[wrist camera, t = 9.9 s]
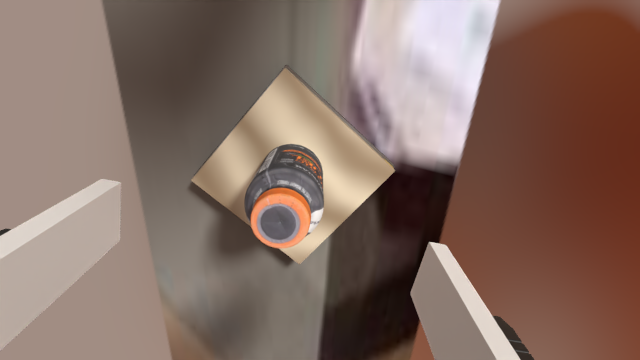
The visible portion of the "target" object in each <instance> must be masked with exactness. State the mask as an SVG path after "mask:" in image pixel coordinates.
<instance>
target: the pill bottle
mask: <svg viewBox="0 0 640 360" xmlns="http://www.w3.org/2000/svg"><path fill="white" fill-rule="evenodd" d="M244 208H245V213H246V216H247V218H248V221H249V222H250V224H251V227H252V230H253V232H254V234H255V236H256V237H257V238H258V239H259V240H260V241H261V242H263V243H264V244H266V245H268V246H270V247H273V248H289V247H292V246H294V245H296V244H298V243H299V242H300V241H302V240H303V239H304V237H305V236H307V235H309V234H310V233H311V232H312V231H313V230H314V229H315V228H316V227H317V225H318V224H319V222H320V220H321V217H322V214H323V209H324V194H323V169H322V165H321V162H320V160H319V159H318V157H317V156H316V155H315V154H314V152H312V151H311V150H310V149H308V148H306V147H304V146H302V145H297V144H285V145H281V146H279V147H276V148H275V149H273V150H272V151H271V152H270V153H268V155H267V156H266V157H265V159H264V161H263V163H262V164H261V166H260V168H259V169H258V171H257V173H256V174H255V176H254V178H253V180H252V181H251V183H250V185H249V187H248V189H247V191H246V194H245V200H244Z"/></svg>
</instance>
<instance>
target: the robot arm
mask: <svg viewBox="0 0 640 360" xmlns="http://www.w3.org/2000/svg"><path fill="white" fill-rule="evenodd" d="M120 216H121V182H117V181H111V180H106V179H100V180H99V181H97V182H95V183H93V184H92V185H90V186H88V187H87V188H85V189H83V190H81V191H79V192H78V193H76V194H74V195H72V196H70V197H69V198H67V199H65V200H63V201H62V202H60V203H58V204H56V205H55V206H53V207H51V208H49V209H47V210H46V211H44V212H42V213H40V214H38V215H37V216H35V217H33V218H32V219H30V220H28V221H26V222H25V223H23V224H21V225H19V226H17V227H15V228H14V229H12V230H11V229H4V230H1V231H0V351H1V350H2V349H3V348H4V347H5V346H6V345H7V344H8V343H9V342H10V341H12V340H13V339H14V338H15V337H16V336H17V335H18V334H19V333H20V332H21V331H22V330H24V329H25V328H26V327H27V326H28V325H29V324H30V323H31V322H32V321H33V320H34V319H35V318H37V317H38V316H39V315H40V314H41V313H42V312H43V311H44V310H45V309H46V308H47V307H49V306H50V305H51V304H52V303H53V302H54V301H55V300H56V299H57V298H58V297H59V296H60V295H62V294H63V293H64V292H65V291H66V290H67V289H68V288H69V287H70V286H71V285H72V284H73V283H75V282H76V280H78V279H79V278H80V277H81V276H82V275H83V274H84V273H85V272H86V271H87V270H89V269H90V268H91V267H92V266H93V265H94V264H95V263H96V262H97V261H98V260H100V258H102V257H103V256H104V255H105V254H106V253H107V252H108V251H109V250H110V249H111V248H112V247H114V246H115V245H116V244H117V243H118V242H119V241H120V218H121V217H120ZM410 294H411V297H412V299H413V302H414V305H415V307H416V310H417V313H418V315H419V318H420V321H421V324H422V326H423V329H424V332H425V334H426V337H427V340H428V342H429V345H430V348H431V350H432V353H433V356H434V359H435V360H534V358H533V357H532V356H531V354H529V351H528V350H527V348H526V347H525V345H524V344H522V343H521V340H520V338H519V337H518V335H517V334H516V333H515V331H514V330H513V328H511V327H510V326H509V325H508V324H507V323H506V322H505V321H504V320H503V319H502V318H500V317H498V316H492V315H491V314H490V312H489V310H488V309H487V307H486V306H485V304H484V303H483V301H482V300H481V298H480V297H479V295H478V293H477V292H476V290H475V289H474V287H473V286H472V284H471V283H470V281H469V280H468V278H467V277H466V275H465V274H464V272H463V270H462V269H461V268H460V266H459V264H458V263H457V261H456V260H455V258H454V257H453V255H452V254H451V252H450V251H449V249H448V248H447V246H446V245H443V244H438V243H432V242H429V243H428V246H427V249H426V252H425V255H424V257H423V260H422V263H421V266H420V268H419V271H418V274H417V277H416V279H415V282H414V285H413V288H412V290H411V293H410Z"/></svg>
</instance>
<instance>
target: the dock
mask: <svg viewBox="0 0 640 360" xmlns="http://www.w3.org/2000/svg"><path fill="white" fill-rule="evenodd" d="M285 144H297V145H302V146H304V147H306V148H308V149H310V150H311V151H312V152H314V154H315V155H316V156H317V157H318V159H319V160H320V162H321V165H322V169H323V194H324V209H323V214H322V217H321V220H320V222H319V224H318V225H317V227H316V228H315V229H314V230H313V231H312V232H311V233H310V234H309V235H307V236H305V237H304V239H303V240H302V241H300V242H299V243H298V244H296V245H294V246H292V247H289V248H279V249H280V250H281V251H283V252H284V253H285V254H287V255H288V256H289V257H290V258H292V259H293V260H294V261H296V262H297V263H298V264H300V263H301V262H303V261H304V260H305V259H306V258H307V257H308V256H309V255H310V254H311V253H312V252H313V251H314V250H315V249H316V248H317V247H318V246H319V245H320V244H321V243H322V242H323V241H324V240H325V239H326V238H327V237H328V236H329V235H330V234H331V233H332V232H333V231H334V230H335V229H336V228H337V227H338V226H339V225H340V224H341V223H342V222H343V221H344V220H345V219H346V218H347V217H348V216H349V215H351V214H352V213H353V212H354V211H355V210H356V209H357V208H358V207H359V206H360V205H361V204H362V203H363V202H364V201H365V200H366V199H367V198H368V197H369V196H370V195H371V194H372V193H373V192H374V191H375V190H376V189H377V188H378V187H379V186H380V185H381V184H382V183H383V182H384V181H385V180H386V179H387V178H388V177H389V176H390V175H391V174H392V173H393V172H394V171H395V170H394V169H393V167H394V165H393V163H392V162H391V161H390V160H389V159H388V158H387V157H385V156H384V155H383V154H382V153H381V152H380V151H379V150H378V149H377V148H376V147H375V146H374V145H373V144H372V143H370V142H369V141H368V140H367V139H366V138H365V137H364V136H363V135H362V134H361V133H360V132H359V131H358V130H357V129H355V128H354V127H353V126H352V125H351V124H350V123H349V122H348V121H347V120H346V119H345V118H344V117H343V116H341V115H340V114H339V113H338V112H337V111H336V110H335V109H334V108H333V107H332V106H331V105H330V104H329V103H328V102H326V101H325V100H324V99H323V98H322V97H321V96H320V95H319V94H318V93H317V92H316V91H315V90H314V89H313V88H311V87H310V86H309V85H308V84H307V83H306V82H305V81H304V80H303V79H302V78H301V77H300V76H299V75H297V74H296V73H295V72H294V71H293V70H292V69H291V68H290V67H289V66H288V65H285V67H284V68H283V69H282V70H281V71H280V73H279V74H278V75H277V76H276V77H275V79H274V80H273V81H272V82H271V83H270V85H269V86H268V87H267V88H266V89H265V91H264V92H263V93H262V94H261V95H260V97H259V98H258V99H257V100H256V101H255V103H254V104H253V105H252V106H251V107H250V109H249V110H248V111H247V112H246V113H245V115H244V116H243V117H242V118H241V119H240V121H239V122H238V123H237V124H236V125H235V127H234V128H233V129H232V130H231V131H230V133H229V134H228V135H227V136H226V137H225V139H224V140H223V141H222V142H221V143H220V145H219V146H218V147H217V148H216V149H215V151H214V152H213V153H212V154H211V155H210V157H209V158H208V159H207V160H206V161H205V163H204V164H203V165H202V166H201V167H200V168H199V170H198V171H197V172H196V173H195V174H194V177H193V179H192V180H191V181H192V182H194V183H195V184H196V185H198V186H199V187H200V188H201V189H203V190H204V191H205V192H207V193H208V194H209V195H210V196H212V197H213V198H214V199H216V200H217V201H218V202H219V203H221V204H222V205H223V206H225V207H226V208H227V209H229V210H230V211H231V212H232V213H234V214H235V215H236V216H238V217H239V218H240V219H241V220H243V221H244V222H245V223H247V224H248V225H249V226H250V227H251V224H250V222H249V221H248V218H247V216H246V213H245V208H244V200H245V194H246V191H247V189H248V187H249V185H250V183H251V181H252V180H253V178H254V176H255V174H256V173H257V171H258V169H259V168H260V166H261V164H262V163H263V161H264V159H265V157H266V156H267V155H268V153H270V152H271V151H272V150H273V149H275V148H276V147H279V146H281V145H285Z"/></svg>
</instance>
